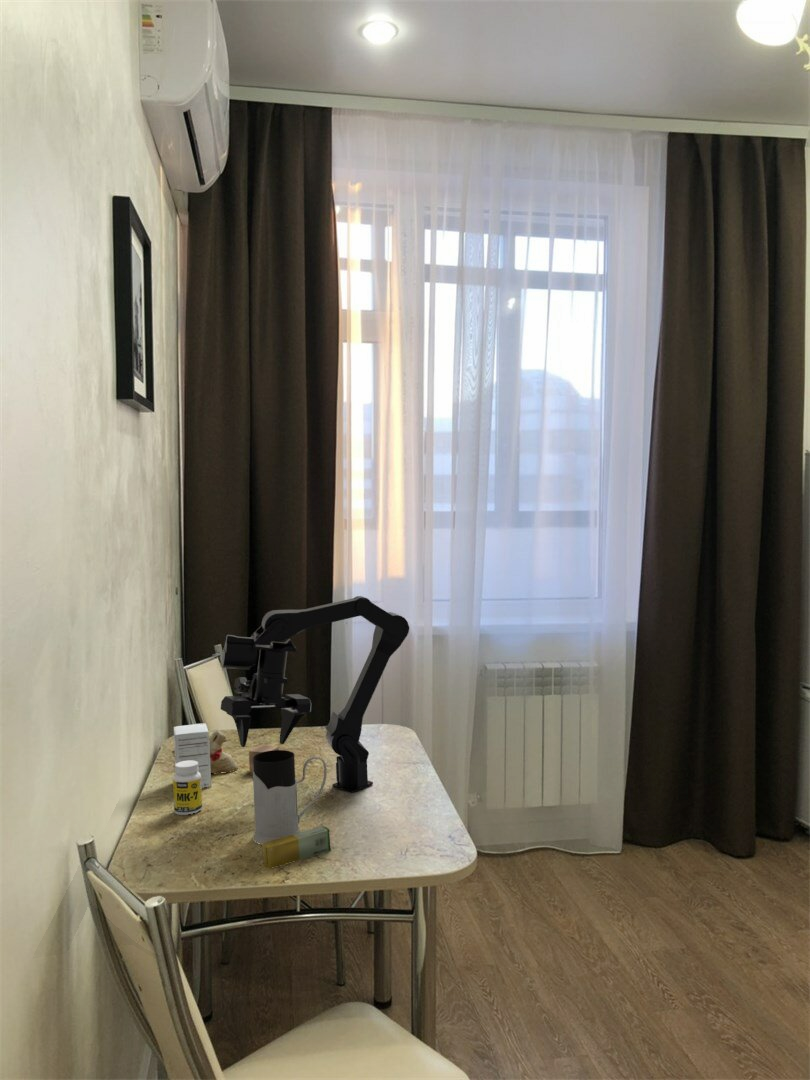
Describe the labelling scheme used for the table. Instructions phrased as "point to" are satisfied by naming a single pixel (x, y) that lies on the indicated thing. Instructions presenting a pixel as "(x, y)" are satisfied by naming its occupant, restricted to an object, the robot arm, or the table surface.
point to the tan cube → (259, 750)
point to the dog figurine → (220, 755)
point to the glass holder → (277, 794)
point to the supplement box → (194, 748)
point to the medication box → (296, 847)
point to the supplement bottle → (187, 788)
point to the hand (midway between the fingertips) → (262, 745)
